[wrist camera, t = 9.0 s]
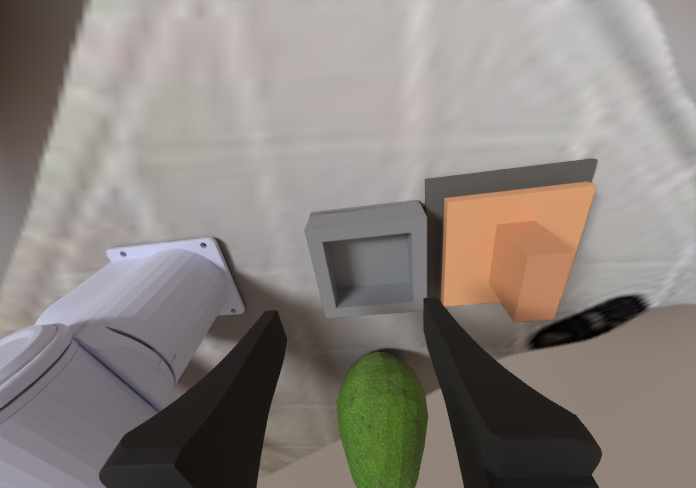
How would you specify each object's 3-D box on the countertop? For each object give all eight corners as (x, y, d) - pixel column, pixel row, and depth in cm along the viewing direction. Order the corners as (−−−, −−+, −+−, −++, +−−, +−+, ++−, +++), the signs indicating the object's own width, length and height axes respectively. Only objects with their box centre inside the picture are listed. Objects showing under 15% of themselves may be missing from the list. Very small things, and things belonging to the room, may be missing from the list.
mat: (425, 298, 25) (426, 301, 25) (425, 179, 20) (426, 180, 19) (555, 287, 24) (558, 290, 24) (593, 158, 19) (597, 159, 18)
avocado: (360, 324, 27) (362, 475, 17) (430, 349, 28) (472, 503, 18) (329, 371, 31) (313, 519, 20) (392, 391, 32) (408, 539, 22)
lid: (438, 292, 24) (458, 347, 19) (440, 193, 20) (468, 230, 15) (548, 282, 23) (600, 337, 18) (577, 176, 19) (656, 211, 14)
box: (329, 293, 25) (325, 318, 23) (311, 212, 21) (304, 230, 19) (419, 286, 24) (426, 310, 22) (418, 200, 20) (426, 217, 18)
